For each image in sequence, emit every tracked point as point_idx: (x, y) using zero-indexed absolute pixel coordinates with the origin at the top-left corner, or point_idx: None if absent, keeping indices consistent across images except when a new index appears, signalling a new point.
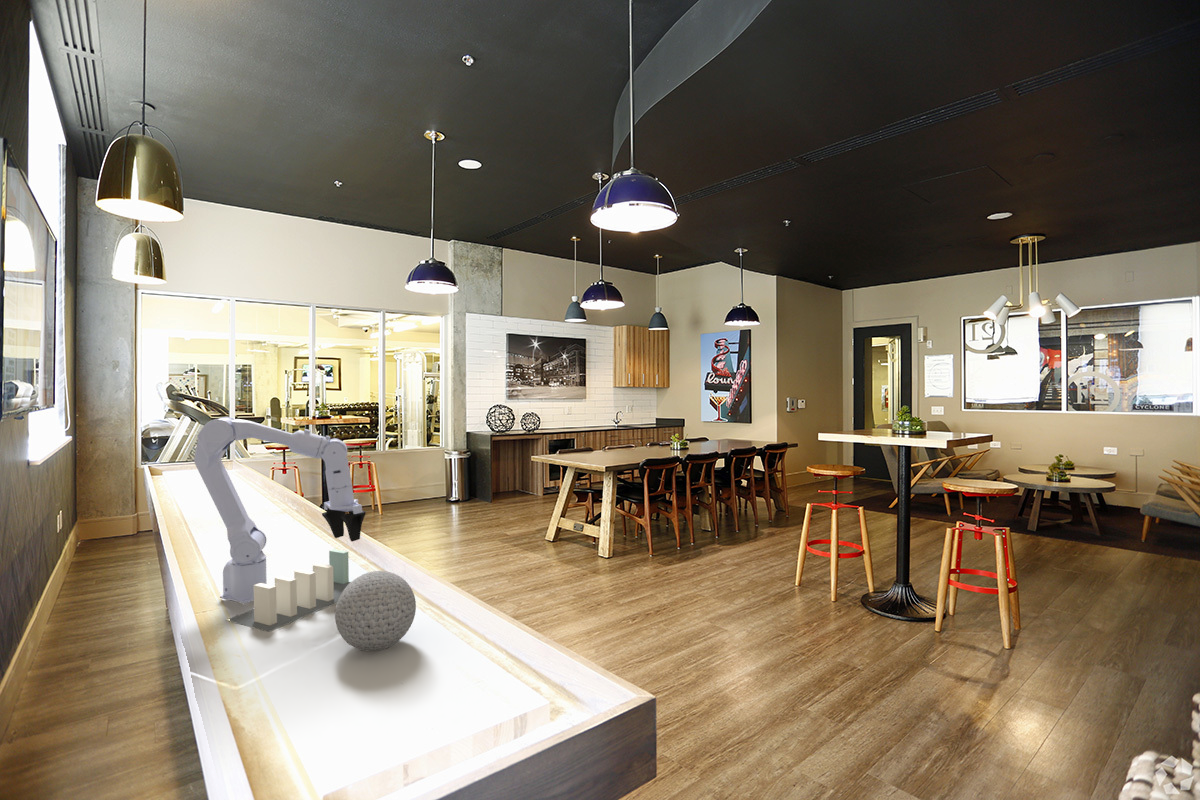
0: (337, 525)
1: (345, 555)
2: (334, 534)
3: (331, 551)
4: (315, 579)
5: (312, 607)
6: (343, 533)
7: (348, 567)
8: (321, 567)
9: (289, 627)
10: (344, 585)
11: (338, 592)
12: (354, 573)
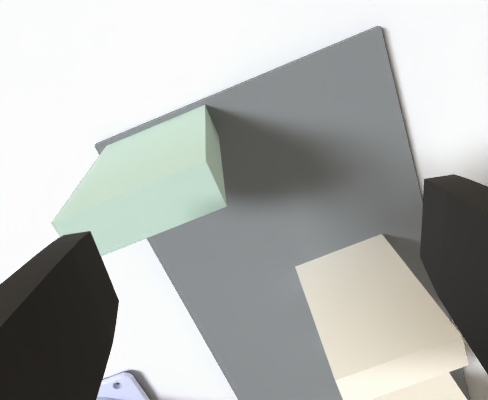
0: (47, 394)
1: (215, 177)
2: (109, 346)
3: (104, 254)
4: (459, 389)
5: None
6: (80, 244)
7: (205, 125)
8: (415, 379)
9: (483, 386)
10: (243, 140)
11: (321, 195)
12: (33, 3)
